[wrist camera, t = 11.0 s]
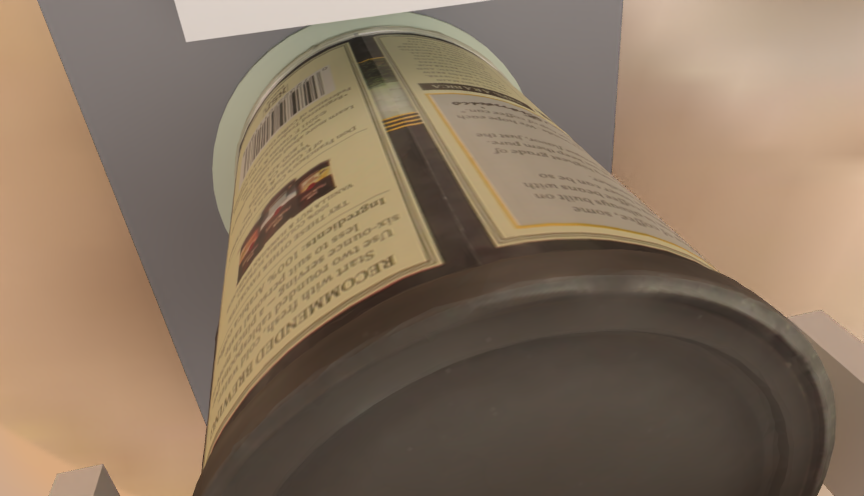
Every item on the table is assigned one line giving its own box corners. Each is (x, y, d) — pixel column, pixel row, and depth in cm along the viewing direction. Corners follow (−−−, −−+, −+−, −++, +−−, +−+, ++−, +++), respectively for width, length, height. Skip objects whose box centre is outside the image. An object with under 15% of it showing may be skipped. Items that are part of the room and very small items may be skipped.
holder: (588, 331, 29) (669, 453, 23) (211, 411, 27) (193, 568, 21) (617, -196, 19) (780, -226, 13) (1, -136, 16) (-160, -137, 10)
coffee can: (470, 324, 26) (636, 719, 14) (204, 273, 22) (120, 751, 10) (587, 82, 21) (978, 355, 9) (281, -31, 18) (290, 182, 6)
